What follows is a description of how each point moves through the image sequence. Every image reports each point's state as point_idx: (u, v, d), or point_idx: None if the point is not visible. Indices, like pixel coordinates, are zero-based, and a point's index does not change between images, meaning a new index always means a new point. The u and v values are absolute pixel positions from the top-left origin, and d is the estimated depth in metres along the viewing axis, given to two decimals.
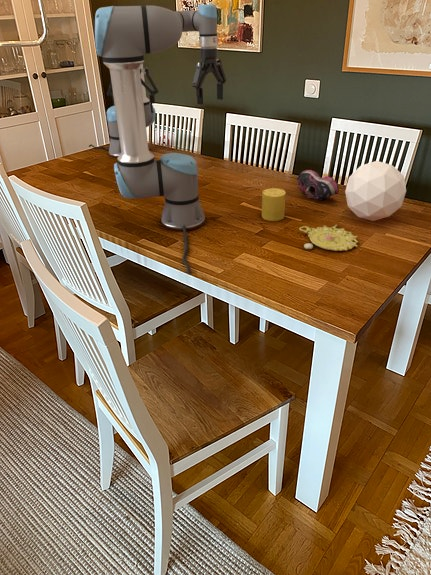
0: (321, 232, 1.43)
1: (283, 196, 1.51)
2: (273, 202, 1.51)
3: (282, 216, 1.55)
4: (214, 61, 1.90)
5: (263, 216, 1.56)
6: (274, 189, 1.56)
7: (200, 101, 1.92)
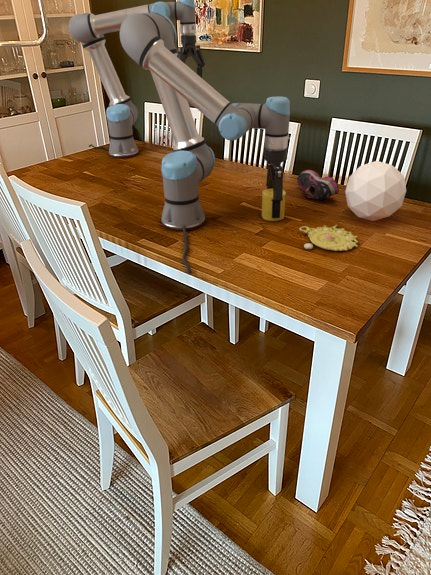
0: (321, 232, 1.43)
1: (283, 196, 1.51)
2: None
3: (282, 216, 1.55)
4: (193, 46, 2.15)
5: (263, 216, 1.56)
6: None
7: None
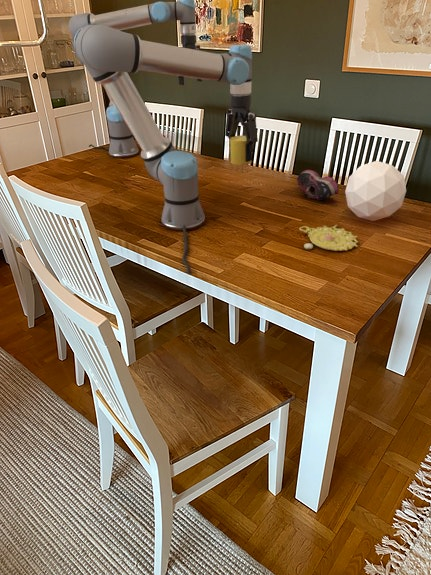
0: (321, 232, 1.43)
1: None
2: None
3: None
4: (193, 46, 2.15)
5: (236, 162, 1.66)
6: (237, 136, 1.67)
7: (181, 82, 2.18)
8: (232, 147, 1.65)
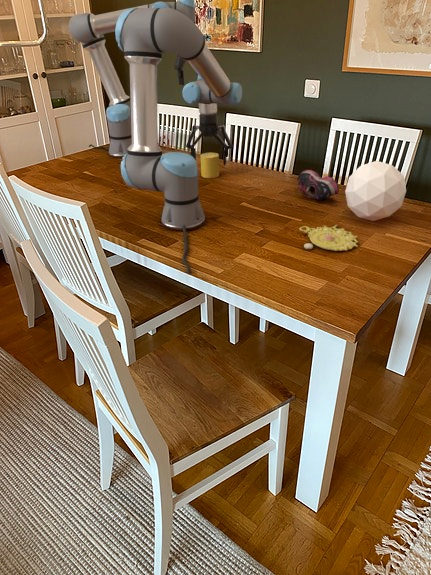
0: (321, 232, 1.43)
1: None
2: (218, 160, 1.93)
3: None
4: None
5: (212, 175, 1.95)
6: (203, 154, 1.95)
7: (181, 82, 2.18)
8: (207, 164, 1.92)
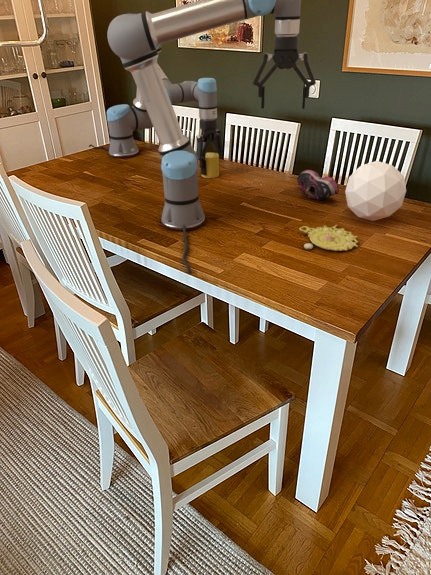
0: (321, 232, 1.43)
1: None
2: (218, 160, 1.93)
3: None
4: (214, 130, 1.89)
5: (212, 175, 1.95)
6: None
7: (204, 172, 1.94)
8: (207, 164, 1.92)
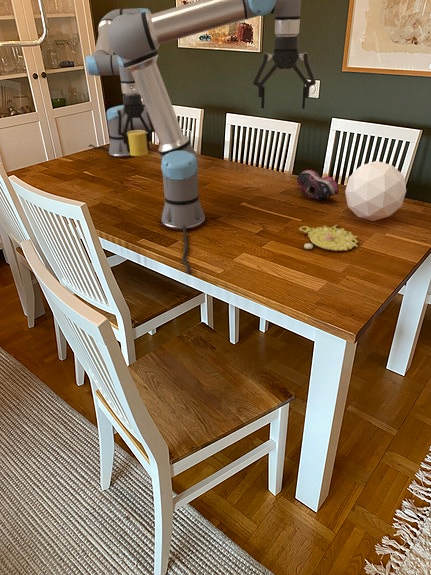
0: (321, 232, 1.43)
1: (145, 133, 1.88)
2: (140, 139, 1.86)
3: (147, 150, 1.92)
4: (139, 107, 1.82)
5: (133, 153, 1.89)
6: (134, 130, 1.90)
7: (127, 148, 1.90)
8: (129, 140, 1.88)
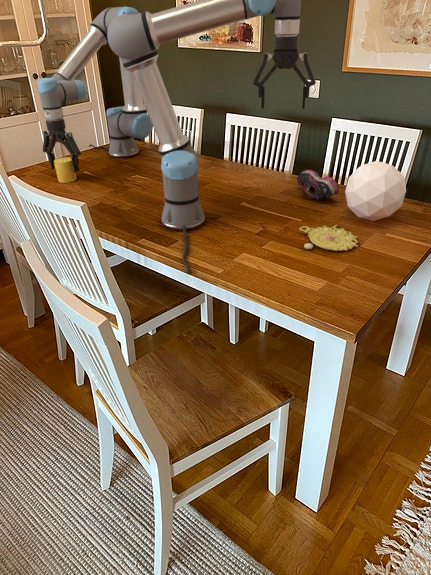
0: (321, 232, 1.43)
1: (68, 162, 1.91)
2: (59, 167, 1.91)
3: (71, 179, 1.96)
4: (59, 133, 1.86)
5: None
6: (66, 157, 1.96)
7: None
8: None
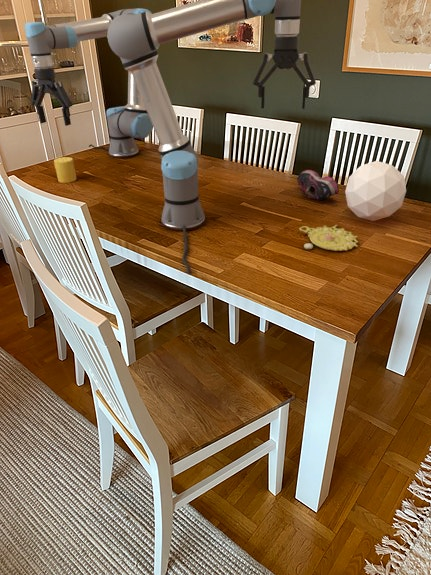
0: (321, 232, 1.43)
1: (68, 162, 1.91)
2: (59, 167, 1.91)
3: (71, 179, 1.96)
4: (49, 83, 1.75)
5: None
6: (66, 157, 1.96)
7: None
8: None
